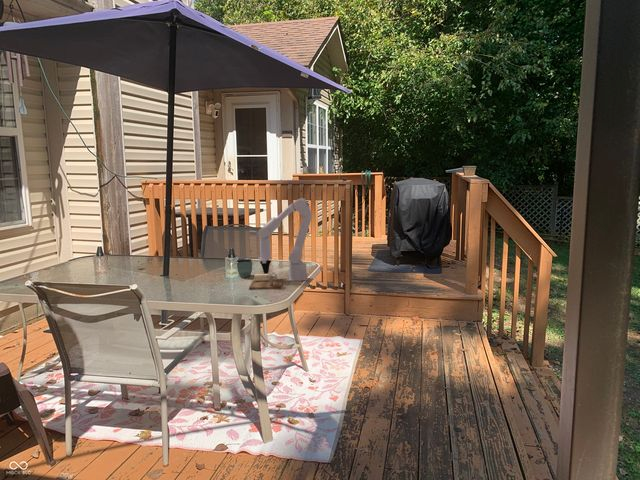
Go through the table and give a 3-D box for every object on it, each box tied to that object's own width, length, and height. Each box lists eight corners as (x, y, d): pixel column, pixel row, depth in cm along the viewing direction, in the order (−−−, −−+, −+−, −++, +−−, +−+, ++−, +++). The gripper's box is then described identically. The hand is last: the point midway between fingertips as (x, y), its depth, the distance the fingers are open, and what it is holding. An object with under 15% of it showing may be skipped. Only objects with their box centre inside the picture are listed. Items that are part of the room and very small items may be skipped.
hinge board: (283, 280, 269) (282, 269, 268) (280, 288, 251) (280, 276, 250) (253, 281, 269) (253, 270, 268) (249, 289, 251) (248, 277, 250)
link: (277, 278, 268) (277, 271, 267) (276, 280, 264) (276, 273, 263) (255, 279, 268) (255, 272, 267) (254, 281, 264) (254, 274, 263)
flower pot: (237, 278, 278) (236, 262, 277) (236, 275, 286) (236, 259, 285) (253, 277, 280) (252, 261, 278) (252, 274, 288) (251, 258, 287)
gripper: (259, 247, 277) (260, 271, 279) (256, 251, 263) (257, 276, 265) (272, 247, 277) (273, 271, 279) (269, 251, 263) (270, 276, 265)
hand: (266, 273), depth 272 cm, fingers closed
